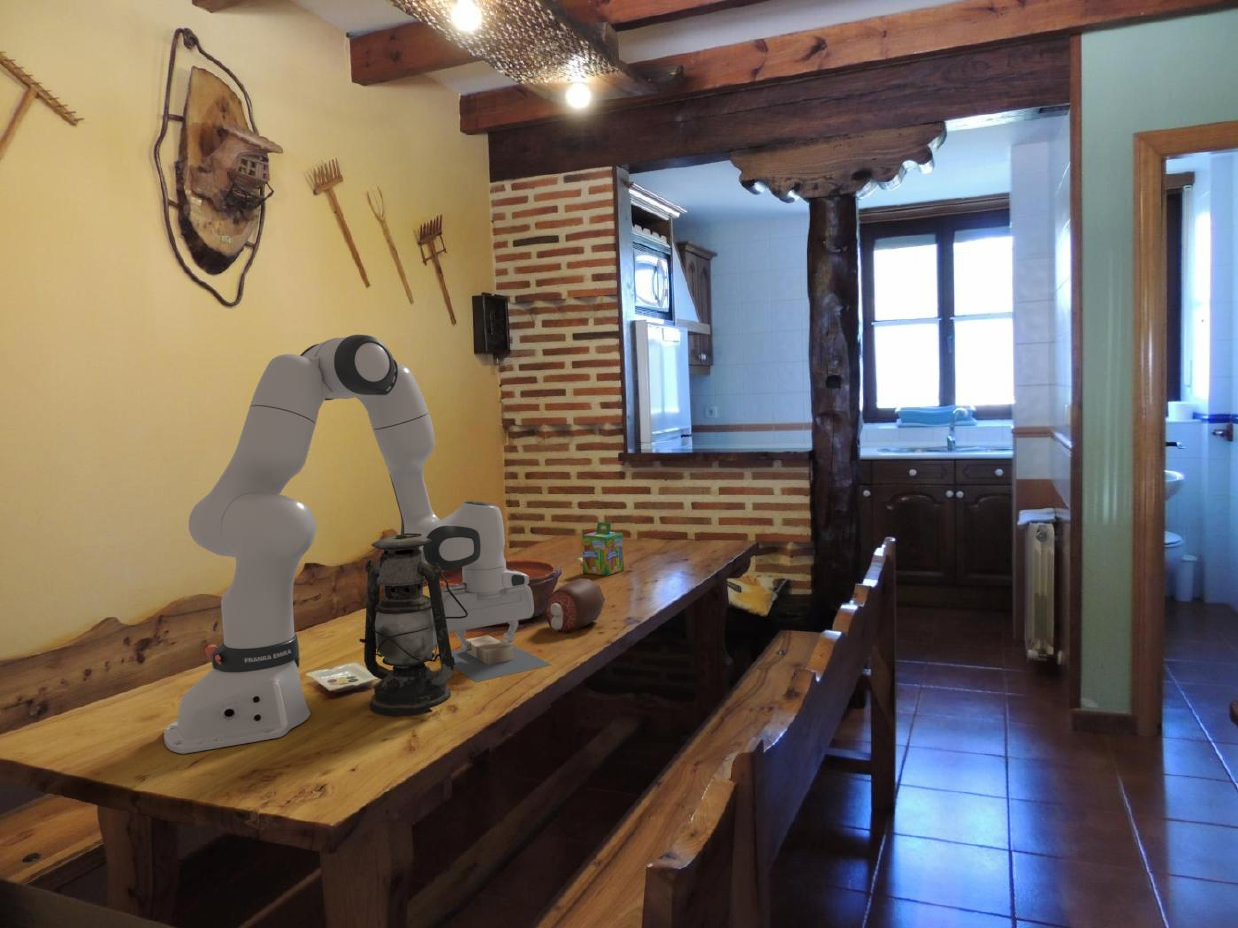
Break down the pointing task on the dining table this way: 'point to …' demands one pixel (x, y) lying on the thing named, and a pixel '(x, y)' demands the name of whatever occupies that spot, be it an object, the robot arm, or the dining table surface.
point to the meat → (574, 605)
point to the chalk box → (603, 551)
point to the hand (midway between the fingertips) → (488, 646)
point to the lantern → (406, 629)
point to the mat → (485, 672)
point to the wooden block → (490, 650)
